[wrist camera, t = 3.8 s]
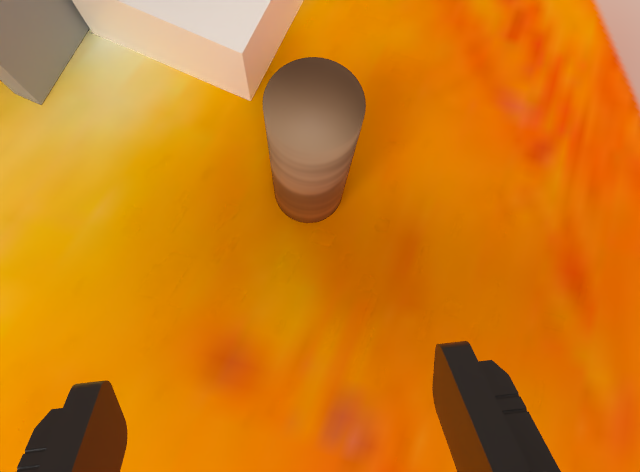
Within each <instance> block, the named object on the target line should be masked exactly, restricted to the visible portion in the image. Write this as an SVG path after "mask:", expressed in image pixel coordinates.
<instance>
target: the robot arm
mask: <svg viewBox="0 0 640 472" xmlns="http://www.w3.org/2000/svg"><path fill="white" fill-rule="evenodd" d="M433 398H434V404H435V408H436V412H437V415H438V417H439V420H440V423H441V426H442V429H443V432H444V435H445V437H446V440H447V443H448V446H449V449H450V452H451V455H452V457H453V460H454V463H455V466H456V469H457V472H561V471H560V469H559V468H558V466H557V464H556V462H555V460H554V459H553V457H552V455H551V453H550V451H549V449H548V447H547V446H546V444H545V442H544V440H543V438H542V436H541V434H540V432H539V431H538V429H537V427H536V425H535V423H534V421H533V419H532V418H531V416H530V414H529V412H527V410H526V406H525V404H524V403H523V401H522V399H521V397H519V395H518V391H517V390H516V388H515V386H514V384H513V382H512V380H511V378H510V376H509V375H508V374H507V373H506V372H505V371H504V370H503V369H501V368H500V367H499V366H498V365H497V364H496V363H495V362H494V361H492V360H488V361H479V362H478V360H477V358H476V356H475V354H474V352H473V350H472V348H471V346H470V344H469V343H468V342H467V341H463V342H454V343H445V344H437V345H436V349H435V361H434V374H433ZM126 445H127V425H126V421H125V418H124V416H123V413H122V411H121V408H120V406H119V403H118V400H117V398H116V395H115V393H114V390H113V388H112V385H111V383H110V382H109V381H98V382H89V383H81V384H75V385H74V386H73V387H72V388H71V390H70V392H69V394H68V397H67V399H66V402H65V404H64V407H63V408H59V409H52V410H51V411H50V412H49V413H48V414H47V415H46V416H45V417H44V419H43V420H42V421H41V422H40V423H39V424H38V425H37V426H36V428H35V429H34V431H33V433H32V435H31V438H30V440H29V442H28V444H27V447H26V449H25V454H23V456H22V458H21V460H20V462H19V464H18V467H17V468H18V470H17V472H120V469H121V465H122V461H123V458H124V454H125V450H126Z"/></svg>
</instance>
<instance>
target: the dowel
mask: <svg viewBox="0 0 640 472" xmlns="http://www.w3.org/2000/svg"><path fill="white" fill-rule="evenodd" d="M365 107H366V104H365V96H364V92H363V90H362V87H361V85H360V83H359V81H358V80H357V79H356V77H355V76H354V75H353V74H352V73H351V72H350V71H349V70H348V69H347V68H345V67H344V66H342V65H341V64H339V63H337V62H334V61H332V60H329V59H324V58H317V57H308V58H302V59H298V60H295V61H292V62H290V63H288V64H286V65H284V66H283V67H282V68H280V69H279V70H278V71H277V72H276V73H275V74H274V75H273V76H272V77H271V79H270V80H269V82H268V84H267V86H266V88H265V92H264V96H263V112H264V119H265V126H266V133H267V140H268V148H269V155H270V162H271V169H272V176H273V184H274V191H275V197H276V201H277V203H278V205H279V207H280V208H281V210H282V211H283V212H284V213H285V214H286V215H287V216H289V217H290V218H292V219H294V220H296V221H299V222H304V223H313V222H318V221H321V220H324V219H326V218H327V217H329V216H330V215H331V214H332V213H333V212H334V211H335V210H336V209H337V207H338V205H339V203H340V201H341V197H342V194H343V190H344V187H345V183H346V180H347V176H348V172H349V169H350V165H351V162H352V158H353V155H354V151H355V147H356V144H357V140H358V137H359V133H360V129H361V126H362V122H363V119H364V114H365Z"/></svg>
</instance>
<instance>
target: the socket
mask: <svg viewBox="0 0 640 472" xmlns="http://www.w3.org/2000/svg"><path fill="white" fill-rule="evenodd" d="M72 1H73V3H74V5H75V6H76V8H77V9H78V11H79V12H80V14H81V16H82V17H83V19H84V20H85V22H86V23H87V25H88V27H89V28H90V30H91V31H92V33H93V34H95V35H98V36H100V37H102V38H105V39H107V40H109V41H112V42H114V43H116V44H119V45H121V46H123V47H126V48H128V49H130V50H133V51H135V52H137V53H140V54H142V55H144V56H147V57H149V58H151V59H154V60H156V61H158V62H161V63H163V64H165V65H168V66H170V67H172V68H175V69H177V70H179V71H182V72H184V73H186V74H189V75H191V76H193V77H196V78H198V79H200V80H203V81H205V82H207V83H210V84H212V85H214V86H216V87H219V88H221V89H223V90H226V91H228V92H230V93H233V94H235V95H237V96H240V97H242V98H244V99H247V100H249V101H251V100H252V98H253V96H254V94H255V92H256V90H257V88H258V87H259V85H260V83H261V81H262V79H263V77H264V75H265V73H266V71H267V69H268V67H269V65H270V64H271V62H272V60H273V58H274V56H275V54H276V52H277V50H278V48H279V46H280V44H281V43H282V41H283V39H284V37H285V35H286V33H287V31H288V29H289V27H290V25H291V23H292V21H293V20H294V18H295V16H296V14H297V12H298V10H299V8H300V6H301V4H302V2H303V0H72Z"/></svg>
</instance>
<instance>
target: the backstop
mask: <svg viewBox="0 0 640 472" xmlns="http://www.w3.org/2000/svg"><path fill="white" fill-rule="evenodd" d="M88 30H89V27H88V25H87V23H86V22H85V20H84V19H83V17H82V16H81V14H80V12H79V11H78V9H77V8H76V6H75V5H74V3H73V1H72V0H0V80H1V81H2V82H3V83H4V84H5V85H6V86H7V87H8V88H9V89H11V90H12V91H13V92H14V93H15V94H17V95H20V96H22V97H24V98H26V99H29V100H31V101H33V102H35V103H38V104H40V105H42V103H43V102H44V100H45V98H46V97H47V95H48V94H49V92H50V90H51V89H52V87H53V86H54V84H55V82H56V81H57V79H58V78H59V76H60V75H61V73H62V71H63V70H64V68H65V67H66V65H67V63H68V62H69V60H70V59H71V57H72V55H73V54H74V52H75V51H76V49H77V47H78V46H79V44H80V43H81V41H82V39H83V38H84V36H85V35H86V33H87V32H88Z"/></svg>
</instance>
